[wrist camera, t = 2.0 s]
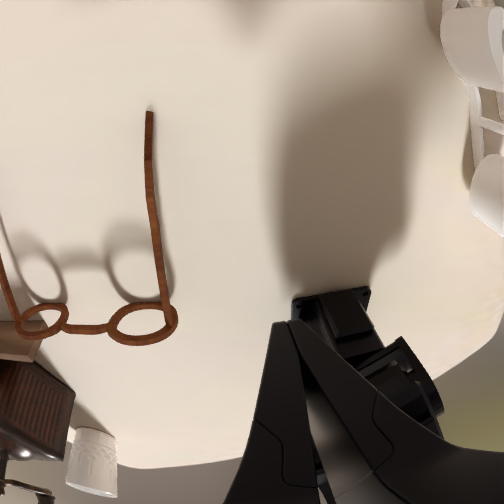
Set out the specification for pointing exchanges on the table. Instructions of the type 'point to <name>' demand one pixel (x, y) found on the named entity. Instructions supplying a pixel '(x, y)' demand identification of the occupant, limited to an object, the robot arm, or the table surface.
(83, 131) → the table surface
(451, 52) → the toilet paper holder
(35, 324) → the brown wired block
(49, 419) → the coffee grinder
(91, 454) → the white cup
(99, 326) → the glasses
